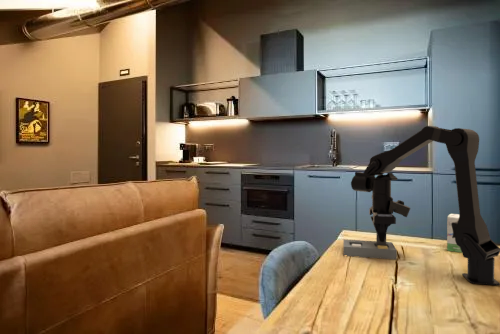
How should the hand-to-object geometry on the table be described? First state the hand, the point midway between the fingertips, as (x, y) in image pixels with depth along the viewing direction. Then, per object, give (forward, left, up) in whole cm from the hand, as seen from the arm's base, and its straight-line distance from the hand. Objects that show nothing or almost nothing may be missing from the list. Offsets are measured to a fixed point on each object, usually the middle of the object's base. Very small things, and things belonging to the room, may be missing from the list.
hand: (381, 240), depth 110 cm
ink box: (+13, -26, -5) cm, 29 cm away
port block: (0, +4, -5) cm, 6 cm away
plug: (0, 0, -4) cm, 4 cm away
